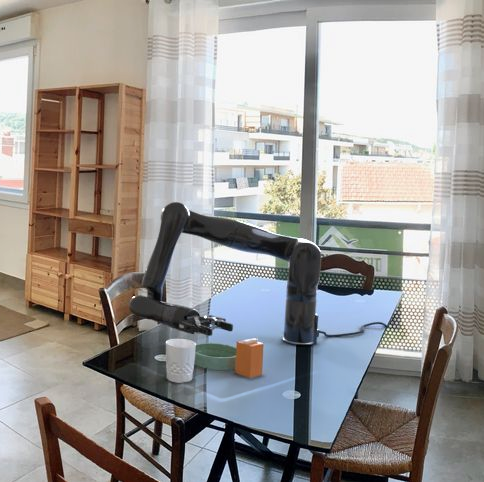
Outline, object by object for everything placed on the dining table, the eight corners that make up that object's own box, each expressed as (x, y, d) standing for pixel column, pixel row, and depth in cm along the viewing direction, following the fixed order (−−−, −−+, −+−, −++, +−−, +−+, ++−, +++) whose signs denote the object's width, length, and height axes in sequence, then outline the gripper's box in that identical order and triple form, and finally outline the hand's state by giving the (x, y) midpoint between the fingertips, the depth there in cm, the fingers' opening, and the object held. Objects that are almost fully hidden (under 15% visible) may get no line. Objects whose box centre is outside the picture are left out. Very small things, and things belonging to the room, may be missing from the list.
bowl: (231, 355, 186) (231, 342, 186) (249, 371, 172) (250, 357, 171) (184, 355, 185) (184, 343, 185) (198, 372, 171) (198, 358, 170)
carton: (247, 370, 172) (248, 336, 171) (262, 376, 168) (263, 340, 167) (235, 374, 170) (236, 338, 168) (249, 379, 166) (251, 343, 164)
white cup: (161, 374, 169) (162, 338, 168) (189, 373, 170) (190, 338, 169) (169, 384, 161) (170, 347, 160) (198, 383, 162) (199, 347, 161)
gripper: (164, 309, 185) (205, 320, 172) (197, 303, 193) (239, 313, 179) (163, 333, 186) (204, 346, 173) (196, 326, 194) (238, 339, 180)
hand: (222, 330), depth 176 cm, fingers open, 8 cm apart
